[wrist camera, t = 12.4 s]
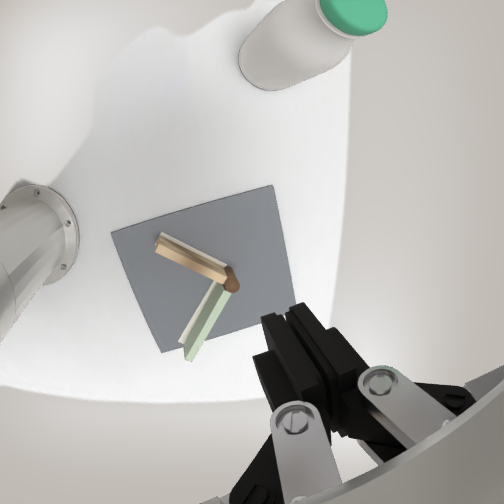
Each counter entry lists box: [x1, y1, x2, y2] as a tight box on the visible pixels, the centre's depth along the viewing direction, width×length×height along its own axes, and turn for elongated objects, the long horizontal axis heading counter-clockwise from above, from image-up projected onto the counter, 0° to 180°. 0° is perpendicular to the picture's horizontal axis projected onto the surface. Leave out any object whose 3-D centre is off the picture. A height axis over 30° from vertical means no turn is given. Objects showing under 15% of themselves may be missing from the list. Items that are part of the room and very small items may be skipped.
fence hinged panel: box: [183, 282, 232, 362], centre depth 39 cm, size 11×1×3 cm, turn 150°
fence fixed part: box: [155, 236, 240, 293], centre depth 36 cm, size 10×2×5 cm, turn 58°
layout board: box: [111, 185, 296, 353], centre depth 39 cm, size 20×18×1 cm
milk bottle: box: [239, 0, 387, 91], centre depth 23 cm, size 8×8×20 cm
